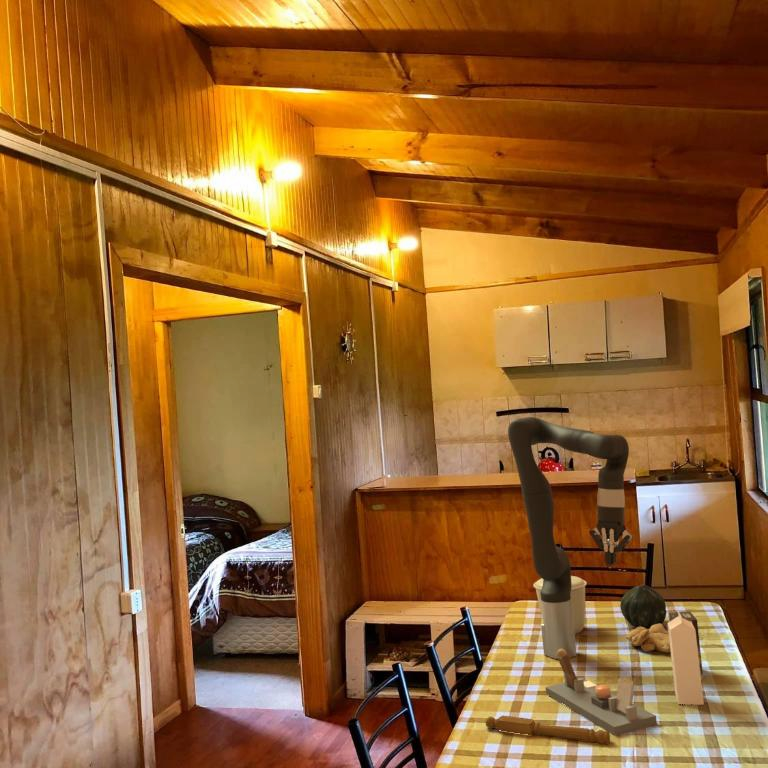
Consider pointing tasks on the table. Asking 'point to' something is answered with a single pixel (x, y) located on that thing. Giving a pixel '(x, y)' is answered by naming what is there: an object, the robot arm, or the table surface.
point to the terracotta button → (603, 691)
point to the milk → (685, 662)
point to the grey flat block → (624, 695)
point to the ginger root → (650, 638)
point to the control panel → (597, 713)
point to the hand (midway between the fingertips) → (610, 565)
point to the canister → (576, 601)
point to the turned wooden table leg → (546, 729)
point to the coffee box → (693, 620)
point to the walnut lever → (566, 667)
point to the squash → (643, 606)
